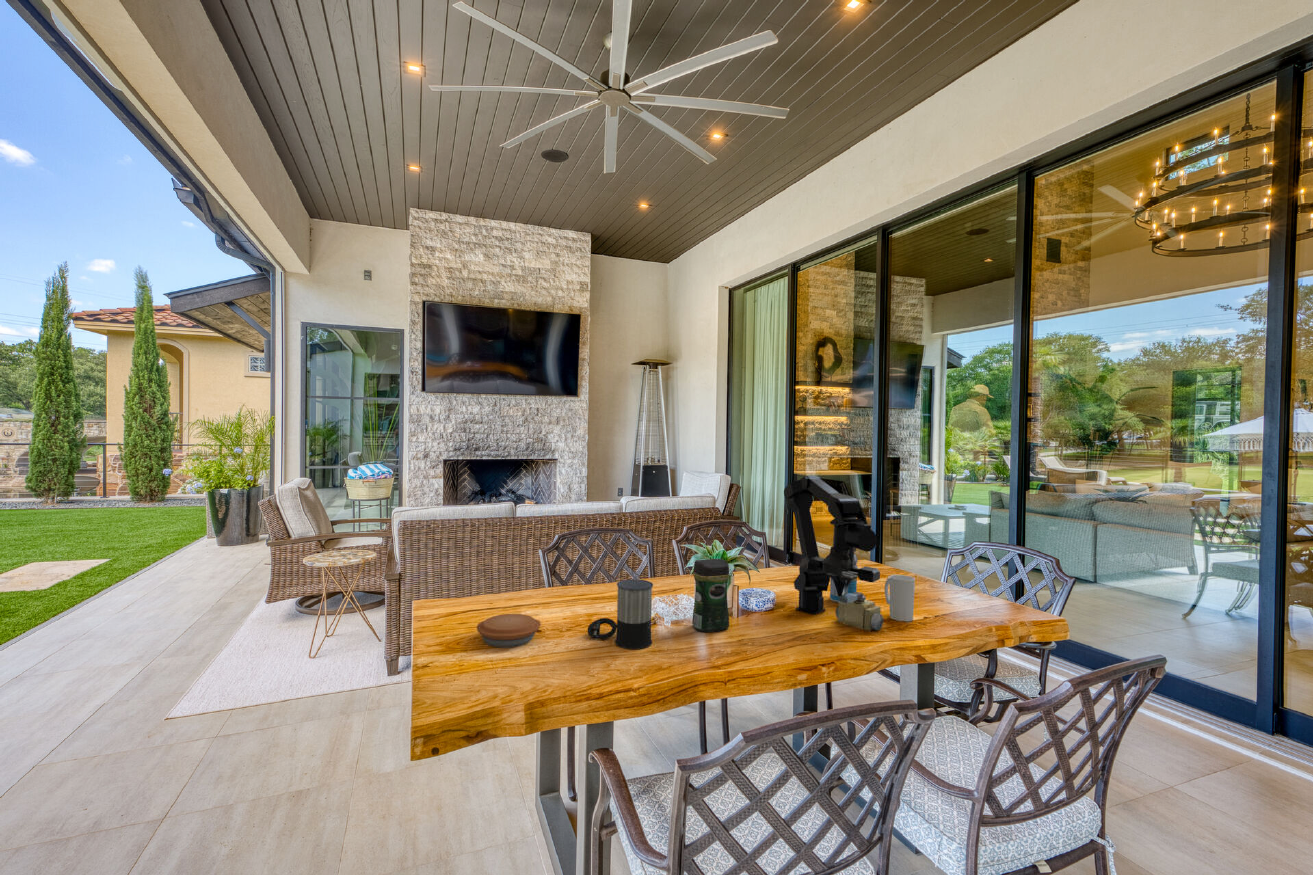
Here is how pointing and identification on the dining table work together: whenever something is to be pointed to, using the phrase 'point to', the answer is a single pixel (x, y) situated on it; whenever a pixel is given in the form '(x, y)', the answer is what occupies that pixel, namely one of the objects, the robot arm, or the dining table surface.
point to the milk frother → (629, 616)
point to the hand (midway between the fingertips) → (840, 599)
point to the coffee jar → (711, 595)
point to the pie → (508, 630)
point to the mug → (900, 597)
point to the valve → (860, 615)
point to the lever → (852, 597)
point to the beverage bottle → (850, 589)
